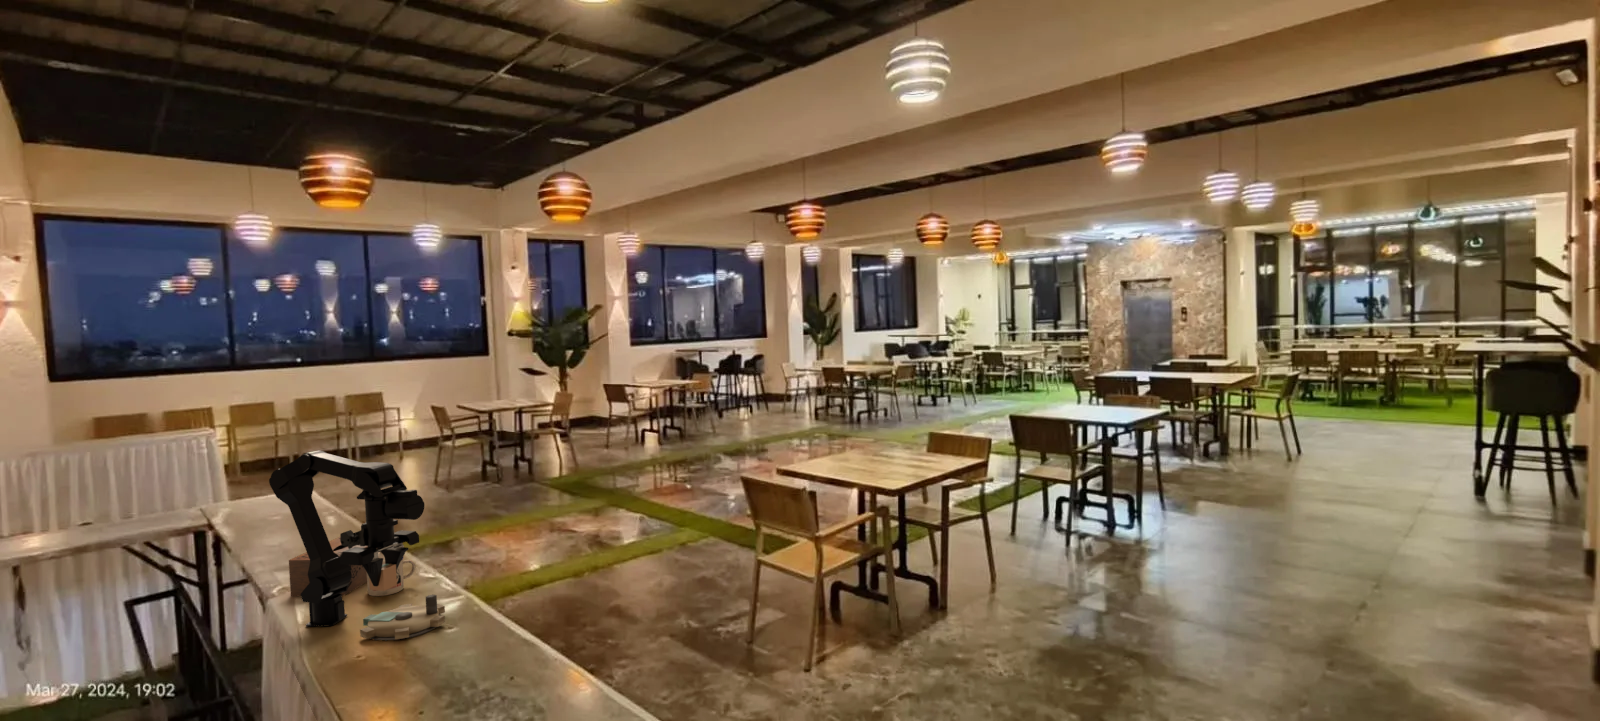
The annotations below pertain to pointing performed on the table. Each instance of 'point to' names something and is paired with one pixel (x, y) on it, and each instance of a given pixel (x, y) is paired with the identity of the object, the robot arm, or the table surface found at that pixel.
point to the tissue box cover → (301, 567)
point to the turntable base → (404, 638)
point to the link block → (386, 578)
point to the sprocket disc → (404, 620)
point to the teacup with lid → (398, 574)
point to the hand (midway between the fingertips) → (383, 582)
